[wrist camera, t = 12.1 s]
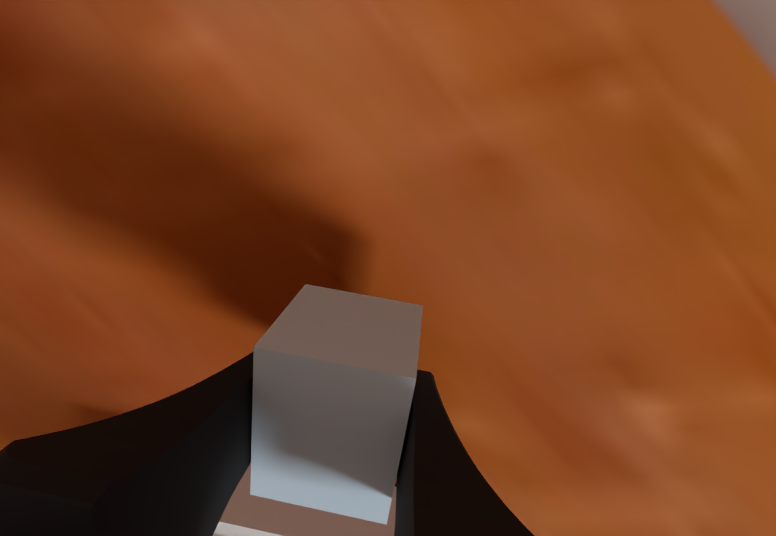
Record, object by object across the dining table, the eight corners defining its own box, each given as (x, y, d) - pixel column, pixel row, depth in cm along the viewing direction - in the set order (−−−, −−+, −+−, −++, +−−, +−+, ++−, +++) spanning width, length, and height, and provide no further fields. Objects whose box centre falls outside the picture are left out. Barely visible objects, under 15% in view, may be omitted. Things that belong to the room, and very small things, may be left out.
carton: (423, 305, 13) (416, 378, 9) (399, 423, 15) (386, 524, 11) (305, 283, 13) (253, 347, 10) (296, 402, 15) (250, 494, 11)
